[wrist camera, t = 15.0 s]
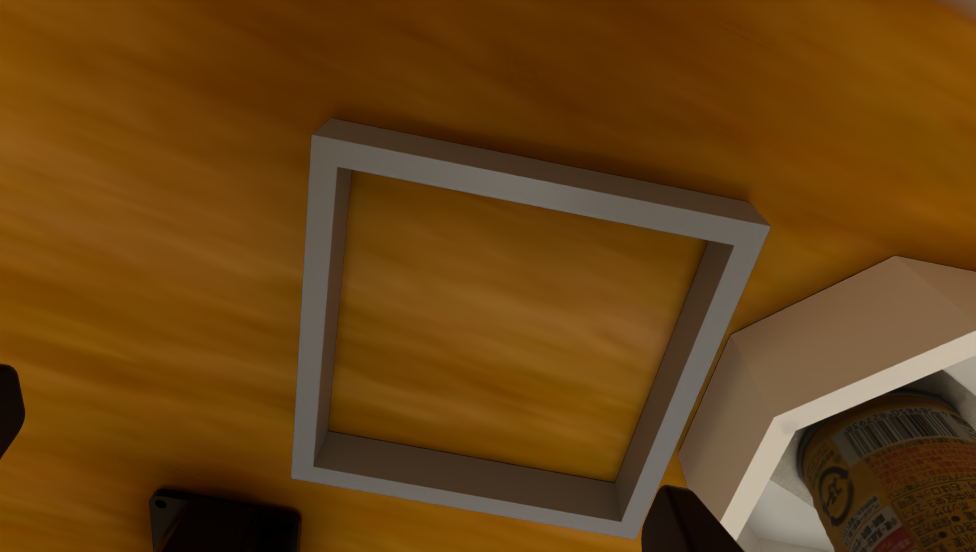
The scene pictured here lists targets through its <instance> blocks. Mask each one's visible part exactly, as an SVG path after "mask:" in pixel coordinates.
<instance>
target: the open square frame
mask: <svg viewBox="0 0 976 552" xmlns="http://www.w3.org/2000/svg"><path fill="white" fill-rule="evenodd" d="M352 170H356V171H361V172H366V173H371V174H376V175H381V176H387V177H392V178H397V179H402V180H407V181H412V182H417V183H422V184H427V185H432V186H437V187H442V188H447V189H452V190H457V191H462V192H467V193H472V194H477V195H482V196H487V197H492V198H498V199H503V200H508V201H513V202H518V203H523V204H528V205H533V206H538V207H543V208H548V209H553V210H558V211H563V212H568V213H573V214H578V215H583V216H588V217H593V218H598V219H604V220H609V221H614V222H619V223H624V224H629V225H634V226H639V227H644V228H649V229H654V230H659V231H664V232H669V233H674V234H679V235H684V236H689V237H694V238H699V239H704V240H709V241H708V244H707V247H706V249H705V252H704V254H703V257H702V259H701V262H700V265H699V267H698V270H697V272H696V275H695V278H694V280H693V283H692V285H691V288H690V290H689V293H688V296H687V298H686V301H685V303H684V306H683V309H682V311H681V314H680V316H679V319H678V321H677V324H676V327H675V329H674V332H673V334H672V337H671V339H670V342H669V345H668V347H667V350H666V352H665V355H664V358H663V360H662V363H661V365H660V368H659V370H658V373H657V376H656V378H655V381H654V383H653V386H652V389H651V391H650V394H649V396H648V399H647V401H646V404H645V407H644V409H643V412H642V414H641V417H640V420H639V422H638V425H637V427H636V430H635V432H634V435H633V438H632V440H631V443H630V445H629V448H628V450H627V453H626V456H625V458H624V461H623V463H622V466H621V469H620V471H619V474H618V476H617V479H616V481H615V483H610V482H605V481H599V480H594V479H588V478H583V477H577V476H572V475H566V474H561V473H555V472H550V471H544V470H538V469H533V468H527V467H522V466H516V465H511V464H505V463H500V462H494V461H489V460H483V459H478V458H472V457H467V456H461V455H456V454H450V453H445V452H439V451H434V450H428V449H423V448H417V447H412V446H406V445H401V444H395V443H390V442H384V441H379V440H373V439H368V438H362V437H357V436H351V435H346V434H340V433H335V432H329V431H328V423H329V412H330V401H331V391H332V380H333V369H334V358H335V347H336V336H337V325H338V314H339V304H340V293H341V282H342V271H343V260H344V249H345V238H346V228H347V217H348V206H349V195H350V184H351V173H352ZM770 227H771V226H770V225H769V224H768V223H767V221H766V220H765V219H764V218H763V217H762V216H761V215H760V214H759V212H758V211H757V210H756V209H755V208H754V207H753V206H752V204H751V203H750V202H746V201H741V200H736V199H731V198H726V197H721V196H716V195H711V194H706V193H701V192H696V191H691V190H686V189H681V188H676V187H671V186H666V185H661V184H656V183H651V182H646V181H641V180H636V179H631V178H626V177H621V176H616V175H611V174H606V173H601V172H596V171H592V170H587V169H582V168H577V167H572V166H567V165H562V164H557V163H552V162H547V161H542V160H537V159H532V158H527V157H522V156H517V155H512V154H507V153H502V152H497V151H492V150H487V149H482V148H477V147H472V146H467V145H462V144H457V143H452V142H447V141H442V140H437V139H432V138H427V137H422V136H417V135H412V134H408V133H403V132H398V131H393V130H388V129H383V128H378V127H373V126H368V125H363V124H358V123H353V122H348V121H343V120H338V119H333V118H330V119H329V120H328V121H327V122H326V123H325V124H323V125H322V126H321V127H320V128H319V129H318V130H317V131H315V132H314V133H313V134H312V138H311V155H310V171H309V188H308V205H307V222H306V238H305V255H304V272H303V289H302V306H301V322H300V339H299V356H298V373H297V389H296V406H295V423H294V440H293V457H292V473H291V478H292V479H297V480H303V481H309V482H314V483H320V484H326V485H331V486H337V487H342V488H348V489H354V490H359V491H365V492H370V493H376V494H382V495H387V496H393V497H398V498H404V499H410V500H415V501H421V502H426V503H432V504H438V505H443V506H449V507H454V508H460V509H466V510H471V511H477V512H483V513H488V514H494V515H499V516H505V517H511V518H516V519H522V520H527V521H533V522H539V523H544V524H550V525H555V526H561V527H567V528H572V529H578V530H583V531H589V532H595V533H600V534H606V535H611V536H617V537H623V538H628V539H634V540H635V539H636V537H637V535H638V532H639V530H640V528H641V525H642V523H643V521H644V518H645V516H646V514H647V511H648V509H649V507H650V505H651V502H652V500H653V498H654V495H655V493H656V491H657V488H658V486H659V484H660V481H661V479H662V477H663V475H664V472H665V470H666V468H667V465H668V463H669V461H670V458H671V456H672V454H673V451H674V449H675V447H676V444H677V442H678V440H679V438H680V435H681V433H682V431H683V428H684V426H685V424H686V421H687V419H688V417H689V414H690V412H691V410H692V408H693V405H694V403H695V401H696V398H697V396H698V394H699V391H700V389H701V387H702V384H703V382H704V380H705V377H706V375H707V373H708V371H709V368H710V366H711V364H712V361H713V359H714V357H715V354H716V352H717V350H718V347H719V345H720V343H721V341H722V338H723V336H724V334H725V331H726V329H727V327H728V324H729V322H730V320H731V317H732V315H733V313H734V310H735V308H736V306H737V304H738V301H739V299H740V297H741V294H742V292H743V290H744V287H745V285H746V283H747V280H748V278H749V276H750V274H751V271H752V269H753V267H754V264H755V262H756V260H757V257H758V255H759V253H760V250H761V248H762V246H763V243H764V241H765V239H766V237H767V234H768V232H769V230H770Z"/></svg>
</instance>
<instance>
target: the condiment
mask: <svg viewBox="0 0 976 552" xmlns="http://www.w3.org/2000/svg"><path fill="white" fill-rule="evenodd" d="M795 439H796V440H795ZM769 480H771V481H772V482H775V483H776V484H778V485H779V486H780V487H782V488H784V489H785V490H787V491H789V492H790V493H792V494H794V495H795V496H797V497H798V498H800V499H801V500H803V501H804V502H805V503H807V504H808V505H810V506H811V507H813V508H814V509H816V511H817V513H818V516H819V519H820V521H821V523H822V525H823V527H824V529H825V531H826V535H827V536H828V538H829V540H830V542H831V544H832V545H833V548H834V551H835V552H976V396H975V395H974V394H973V393H971V392H970V391H969V390H967V389H966V388H965V387H964V386H963V385H961V384H960V383H959V382H958V381H956V380H955V379H954V378H953V377H952V376H950V375H949V374H948V373H946V372H945V371H944V370H939V371H937V372H934V373H932V374H930V375H927V376H925V377H923V378H920V379H918V380H915V381H913V382H911V383H908V384H906V385H903V386H901V387H899V388H896V389H894V390H892V391H889V392H887V393H884V394H882V395H880V396H877V397H875V398H873V399H870V400H868V401H865V402H863V403H861V404H858V405H856V406H853V407H851V408H849V409H846V410H844V411H842V412H839V413H837V414H834V415H832V416H830V417H827V418H825V419H822V420H820V421H818V422H815V423H813V424H811V425H808V426H806V427H803V428H801V429H799V430H796V431H795V433H794V435H793V437H792V438H791V440H790V442H789V444H788V446H787V448H786V449H785V451H784V453H783V455H782V457H781V459H780V461H779V462H778V464H777V466H776V468H775V470H774V472H773V473H772V475H771V477H770V479H769Z"/></svg>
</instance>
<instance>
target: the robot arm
mask: <svg viewBox="0 0 976 552" xmlns="http://www.w3.org/2000/svg"><path fill="white" fill-rule="evenodd" d="M24 419H25V408H24V403H23V398H22V393H21V388H20V382H19V377H18V374H17V371H16V370H15V369H14V368H13V367H11V366H10V365H6V364H0V459H1V457H2V456H3V454H4V453H5V451H6V450H7V449H8V447H9V446H10V444H11V443H12V441H13V440H14V438H15V437H16V435H17V434H18V433H19V431H20V429H21V427H22V425H23V422H24ZM149 505H150V517H151V529H152V540H153V552H299V547H300V534H301V517H300V516H299V515H298V514H296V513H295V512H292V511H287V510H281V509H276V508H270V507H264V506H259V505H253V504H247V503H242V502H236V501H230V500H225V499H219V498H213V497H208V496H202V495H196V494H191V493H185V492H179V491H174V490H168V489H158V490H156V491H155V492H154V494H153V495H152V497H151V498H150V501H149ZM641 544H642V552H745V551H744V550H743V549H742V548H741V546H740V545H739V544H738V543H737V542H736V541H735V539H734V538H733V537H732V536H731V535H730V534H729V532H728V531H727V530H726V529H725V528H724V527H723V525H722V524H721V523H720V522H719V521H718V520H717V518H716V517H715V516H714V515H713V514H712V513H711V511H710V510H709V509H708V508H707V507H706V506H705V504H704V503H703V502H702V501H701V500H700V499H699V497H698V496H697V495H696V494H695V493H694V492H693V491H692V490H690V489H687V488H682V487H676V486H671V485H663V486H662V487H661V488H660V489H659V490H658V492H657V494H656V496H655V499H654V501H653V503H652V506H651V508H650V510H649V513H648V515H647V517H646V520H645V522H644V525H643V529H642V537H641Z"/></svg>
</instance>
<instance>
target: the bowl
mask: <svg viewBox="0 0 976 552" xmlns="http://www.w3.org/2000/svg"><path fill="white" fill-rule="evenodd" d="M939 370H944V371H945V372H946V373H948V374H949V375H950V376H952V377H953V378H954V379H955V380H956V381H958V382H959V383H960V384H961V385H963V386H964V387H965V388H966V389H967V390H969V391H970V392H971V393H973V394H974V395H975V396H976V272H974V271H969V270H964V269H959V268H954V267H949V266H944V265H939V264H934V263H929V262H924V261H919V260H914V259H909V258H904V257H899V256H893V257H891V258H889V259H887V260H885V261H883V262H881V263H879V264H877V265H875V266H873V267H870V268H868V269H866V270H864V271H862V272H860V273H858V274H856V275H854V276H852V277H850V278H848V279H846V280H843V281H841V282H839V283H837V284H835V285H833V286H831V287H829V288H827V289H825V290H823V291H821V292H819V293H816V294H814V295H812V296H810V297H808V298H806V299H804V300H802V301H800V302H798V303H796V304H794V305H792V306H789V307H787V308H785V309H783V310H781V311H779V312H777V313H775V314H773V315H771V316H769V317H767V318H765V319H762V320H760V321H758V322H756V323H754V324H752V325H750V326H748V327H746V328H744V329H742V330H740V331H738V332H735V333H733V334H731V335H730V337H729V339H728V342H727V344H726V346H725V348H724V351H723V353H722V355H721V358H720V360H719V362H718V364H717V367H716V369H715V371H714V374H713V376H712V378H711V380H710V383H709V385H708V387H707V390H706V392H705V394H704V396H703V399H702V401H701V403H700V405H699V408H698V410H697V412H696V415H695V417H694V419H693V421H692V424H691V426H690V428H689V431H688V433H687V435H686V437H685V440H684V442H683V444H682V447H681V449H680V451H679V453H678V456H679V460H680V463H681V466H682V470H683V473H684V476H685V480H686V483H687V486H688V489H690V490H692V491H693V492H694V493H695V494H696V495H697V496H698V497H699V499H700V500H701V501H702V502H703V503H704V504H705V506H706V507H707V508H708V509H709V510H710V511H711V513H712V514H713V515H714V516H715V517H716V518H717V520H718V521H719V522H720V523H721V524H722V525H723V527H724V528H725V529H726V530H727V531H728V532H729V534H730V535H731V536H732V537H733V538H734V539H735V541H736V542H737V543H738V544H739V545H740V546H741V548H742V549H743V550H744V551H745V552H835V551H834V548H833V545H832V544H831V542H830V540H829V538H828V536H827V535H826V531H825V529H824V527H823V525H822V523H821V521H820V519H819V516H818V513H817V511H816V509H814V508H813V507H811V506H810V505H808V504H807V503H805V502H804V501H803V500H801V499H800V498H798V497H797V496H795V495H794V494H792V493H790V492H789V491H787V490H785V489H784V488H782V487H780V486H779V485H778V484H776V483H775V482H772V481H771V480H769V479H770V477H771V475H772V473H773V472H774V470H775V468H776V466H777V464H778V462H779V461H780V459H781V457H782V455H783V453H784V451H785V449H786V448H787V446H788V444H789V442H790V440H791V438H792V437H793V435H794V433H795V431H796V430H799V429H801V428H803V427H806V426H808V425H811V424H813V423H815V422H818V421H820V420H822V419H825V418H827V417H830V416H832V415H834V414H837V413H839V412H842V411H844V410H846V409H849V408H851V407H853V406H856V405H858V404H861V403H863V402H865V401H868V400H870V399H873V398H875V397H877V396H880V395H882V394H884V393H887V392H889V391H892V390H894V389H896V388H899V387H901V386H903V385H906V384H908V383H911V382H913V381H915V380H918V379H920V378H923V377H925V376H927V375H930V374H932V373H934V372H937V371H939ZM795 440H796V439H795Z"/></svg>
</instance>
